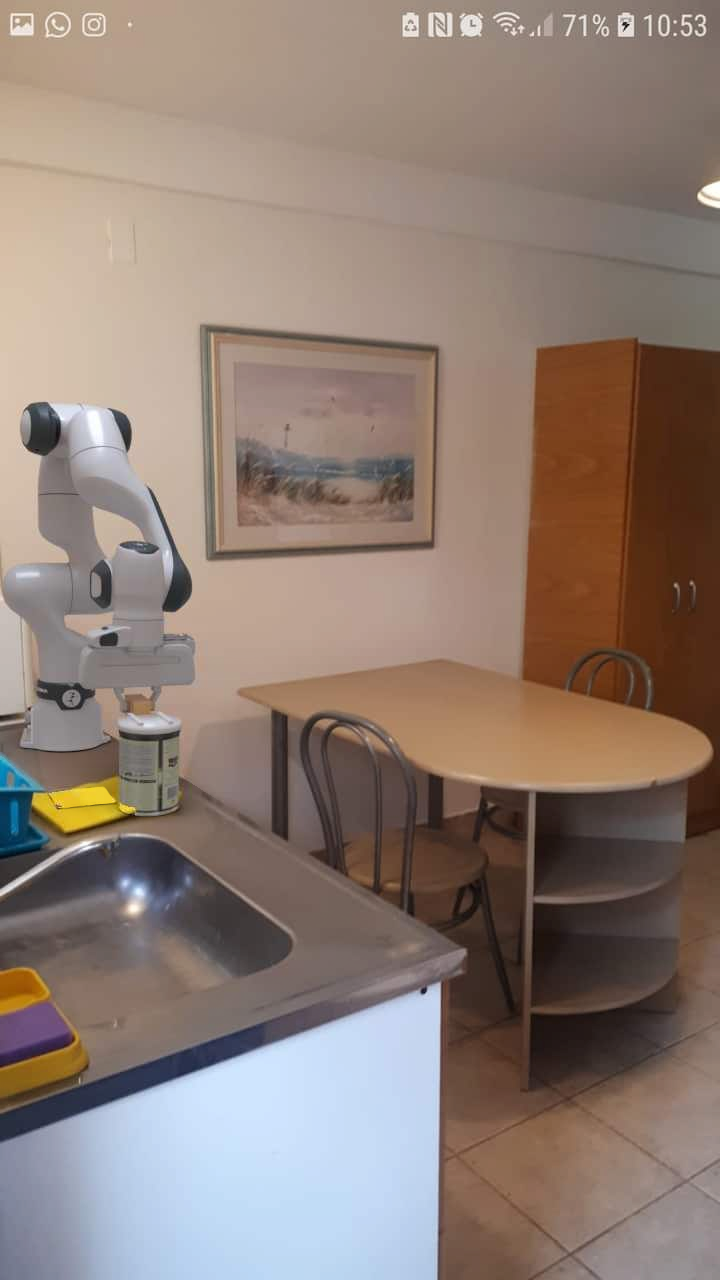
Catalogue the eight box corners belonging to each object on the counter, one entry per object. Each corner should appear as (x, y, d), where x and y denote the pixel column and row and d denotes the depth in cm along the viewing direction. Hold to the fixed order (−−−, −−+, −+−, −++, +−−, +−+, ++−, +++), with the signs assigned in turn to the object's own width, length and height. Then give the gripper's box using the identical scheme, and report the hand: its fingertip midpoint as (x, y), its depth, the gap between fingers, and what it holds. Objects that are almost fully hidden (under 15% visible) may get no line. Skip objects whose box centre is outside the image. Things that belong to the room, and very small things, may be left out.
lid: (103, 714, 170) (103, 695, 169) (161, 711, 174) (161, 692, 174) (126, 736, 154) (126, 715, 154) (189, 732, 159) (189, 711, 159)
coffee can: (124, 797, 168) (125, 720, 166) (183, 799, 168) (184, 722, 167) (111, 816, 158) (112, 733, 156) (173, 817, 158) (175, 735, 157)
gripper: (190, 631, 175) (188, 704, 176) (76, 633, 165) (75, 710, 167) (200, 635, 169) (199, 711, 171) (83, 637, 160) (83, 718, 161)
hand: (137, 711), depth 169 cm, fingers closed on lid, 3 cm apart
